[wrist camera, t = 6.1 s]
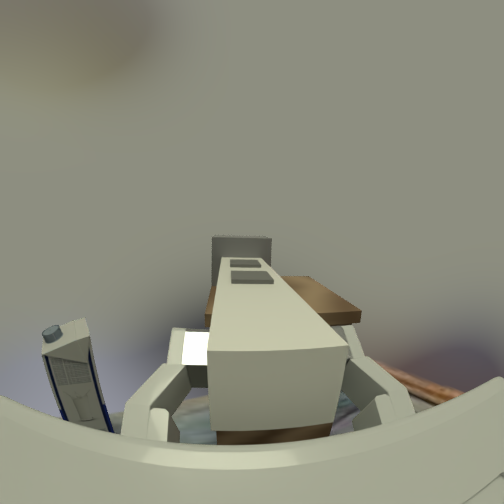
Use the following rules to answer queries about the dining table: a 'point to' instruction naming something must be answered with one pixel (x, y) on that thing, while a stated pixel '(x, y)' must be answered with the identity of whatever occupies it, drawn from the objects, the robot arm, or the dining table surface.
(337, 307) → the stand
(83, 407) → the milk carton
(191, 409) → the dining table surface
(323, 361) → the power strip
